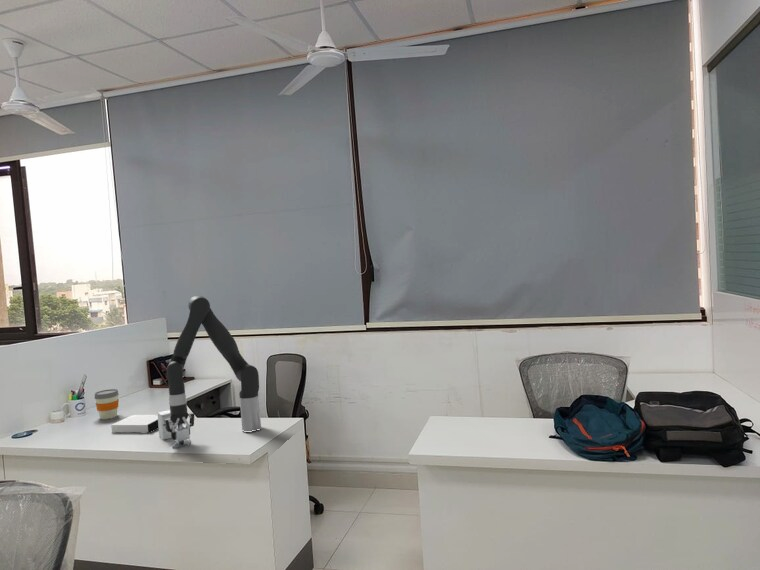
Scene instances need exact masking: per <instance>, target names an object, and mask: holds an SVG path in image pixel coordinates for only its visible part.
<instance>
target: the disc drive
mask: <svg viewBox="0 0 760 570" xmlns="http://www.w3.org/2000/svg"><path fill="white" fill-rule="evenodd" d="M157 428H158V429H159V426H158V414H131V415H130V416H128V417H124V419H121V420H118V421H117V422H114V423H113V424H111V433H112V432H150V433H152V432H154V431H156V430H158V429H157ZM155 429H156V430H155ZM153 430H154V431H153ZM151 431H152V432H151Z"/></svg>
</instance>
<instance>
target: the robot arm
mask: <svg viewBox="0 0 760 570" xmlns="http://www.w3.org/2000/svg"><path fill="white" fill-rule="evenodd" d="M187 306H188V310H189V314H188V318H187V321H186V324H185V325H184V328H183V330H182V331H181V333H180V335H179V337H178V339H177V341H176V343H175V346H174V350H173V354H172V355H171V358H170V361H169V362H168V365H167V366H166V377H167V383H168V394H169V395H168V396H169V397H168V401H169V402H168V404H169V410H170V414H171V416H170V418H169V419H164V423H165V427H166V431H168V432H171V438H170V439H171V440H172V441H175V440H176V439H175V429H176V427H178V425H179V424H182V425H183V426H186V427H188V428H189V435H191V427H194V426H195V413H193V412H190V413H188V404H187V403H188V401H187V395H186V389H185V388H186V387H185V386H186V385H185V382H184V376H183V375H184V374H183V371H184V368H185V365H186V361H187V359H188V357H189V355H190V353H191V349H192V347H193V345H194V342H195V339H196V336H197V334H198V332H199V329H200V327H201V325H202V327H203V328H204V331H206V334H207V335H208V337H209V339H210V340H211V343H212V344H213V345H214V347H215V348H216V349H217V351H218V352H219V353H220V355H222V357H223V359H225V361H226V362H227V363H228V364H229V366H230V369H231V370H232V372H233V374H234V375H235V377H236V379H237V380H238V381H239V382H240V388H241V390H240V391H239V394H238V395H239V406H240V417H241V419H240V420H241V430H244V431H252V430H257V429H261V430H262V421H261V409H260V401H259V400H260V399H259V391H260V376H259V371H258V369H257V367H255V366H254V365H251V364H249V363H248V362H247V361H246V360H245V358H244V357H243V356H242V354H241V353H240V350H239V347H238V344H237V342H236V340H235V338H234V337H233V335H232V334H231V332H230V331H229V330H228V329H227V327H226V326H225V325H224V324H223V323H222V322H221V321H220V320H219V319H218V317H217V316H216V315H215V313H214V312H213V310H212V308H211V303H210V302H209V299H207V298H206V297H204V296H202V295H194V296H192V297H190V299H189V301H188V305H187ZM188 417H189V421H188V420H187V419H188ZM170 421H172V422H173V423H172V427H171V429H170V426H169V423H170Z"/></svg>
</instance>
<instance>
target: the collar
mask: <svg viewBox="0 0 760 570" xmlns="http://www.w3.org/2000/svg"><path fill="white" fill-rule="evenodd" d="M190 435H191V434H190ZM190 435H189V428H188V427H186V426H185V425H183V429H181V430H178V426H177V428H176V429H175V439H176V440H174V442H175V441H176V442H179V441H183V440H191V436H190Z"/></svg>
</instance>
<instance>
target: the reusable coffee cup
mask: <svg viewBox="0 0 760 570" xmlns="http://www.w3.org/2000/svg"><path fill="white" fill-rule="evenodd" d="M94 399H95V407H96V410H97V412H98V415H99V419H100V420H108V418H110V419H113V417H114V418H116V417H117V416H118V408H119V402H120V401H119V390H118V389H117V388H112V389H111V388H110V389H103V390H99V391H96V392H95V393H94ZM115 416H116V417H115Z"/></svg>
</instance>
